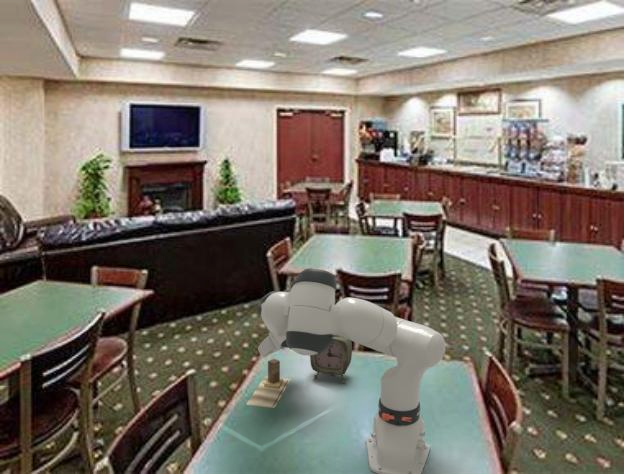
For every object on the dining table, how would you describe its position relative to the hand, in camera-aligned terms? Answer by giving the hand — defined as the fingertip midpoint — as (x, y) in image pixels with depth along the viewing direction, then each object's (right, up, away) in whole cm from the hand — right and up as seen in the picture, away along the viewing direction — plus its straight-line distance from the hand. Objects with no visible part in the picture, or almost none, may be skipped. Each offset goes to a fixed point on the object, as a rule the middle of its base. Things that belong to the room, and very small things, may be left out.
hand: (273, 351), depth 189 cm
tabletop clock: (+21, -13, +11) cm, 27 cm away
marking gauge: (0, -12, +2) cm, 12 cm away
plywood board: (-1, -15, -3) cm, 15 cm away
